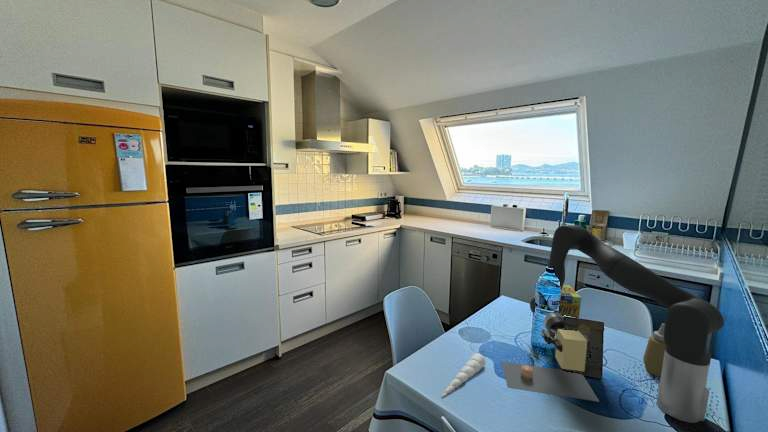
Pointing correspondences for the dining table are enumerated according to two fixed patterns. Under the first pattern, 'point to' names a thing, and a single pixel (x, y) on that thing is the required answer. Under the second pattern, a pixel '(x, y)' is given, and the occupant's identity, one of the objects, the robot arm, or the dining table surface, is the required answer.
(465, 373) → the unicorn horn
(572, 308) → the protein box
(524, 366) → the tan rounded blob
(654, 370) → the squeeze bottle
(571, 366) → the tall cream block
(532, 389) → the mat
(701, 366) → the robot arm
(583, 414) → the dining table surface
